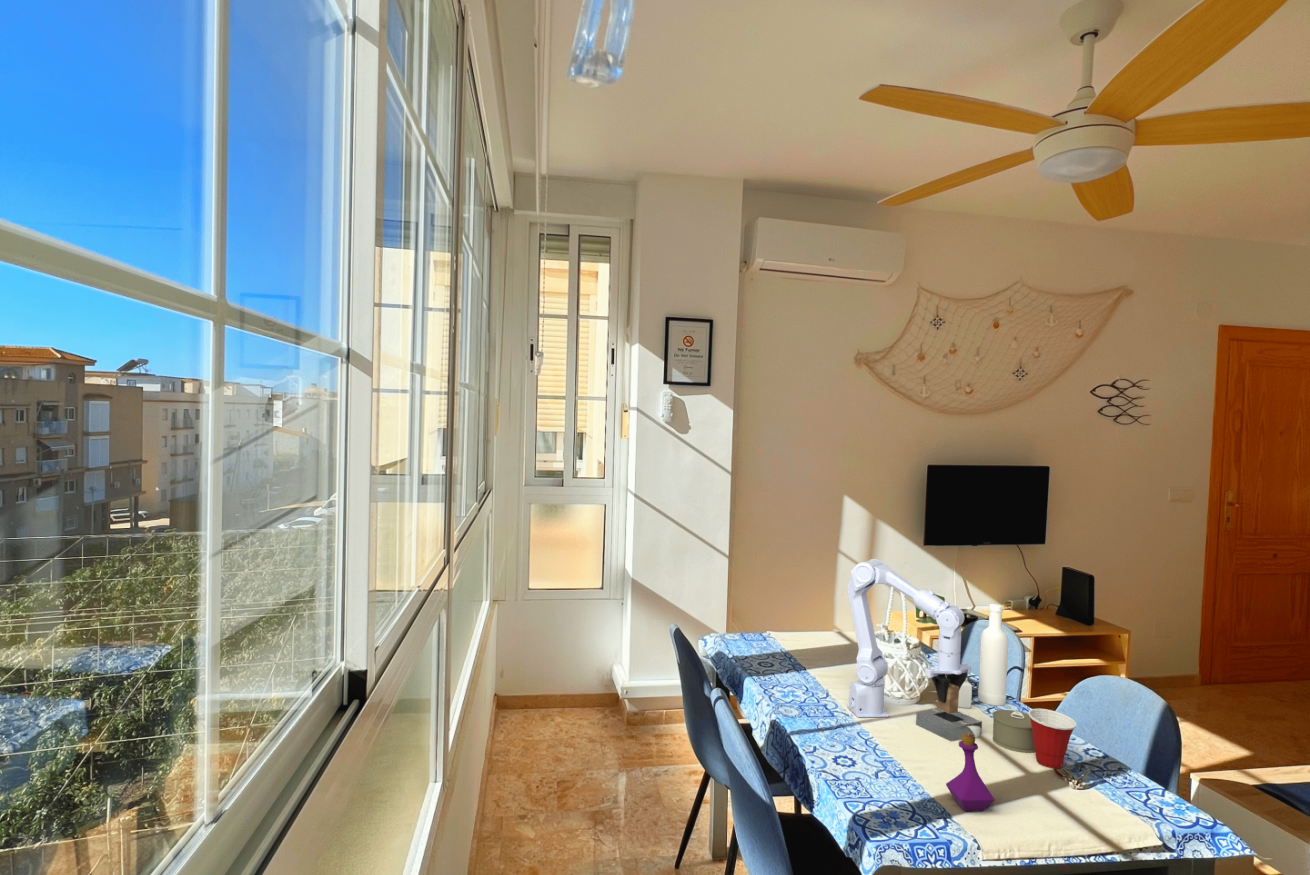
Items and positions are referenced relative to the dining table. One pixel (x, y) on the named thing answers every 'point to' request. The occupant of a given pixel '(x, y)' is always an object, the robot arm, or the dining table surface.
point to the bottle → (993, 660)
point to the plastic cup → (1050, 736)
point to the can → (1013, 731)
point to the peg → (950, 700)
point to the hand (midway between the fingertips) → (947, 700)
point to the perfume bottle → (970, 778)
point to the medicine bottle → (965, 694)
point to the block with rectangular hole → (946, 723)
